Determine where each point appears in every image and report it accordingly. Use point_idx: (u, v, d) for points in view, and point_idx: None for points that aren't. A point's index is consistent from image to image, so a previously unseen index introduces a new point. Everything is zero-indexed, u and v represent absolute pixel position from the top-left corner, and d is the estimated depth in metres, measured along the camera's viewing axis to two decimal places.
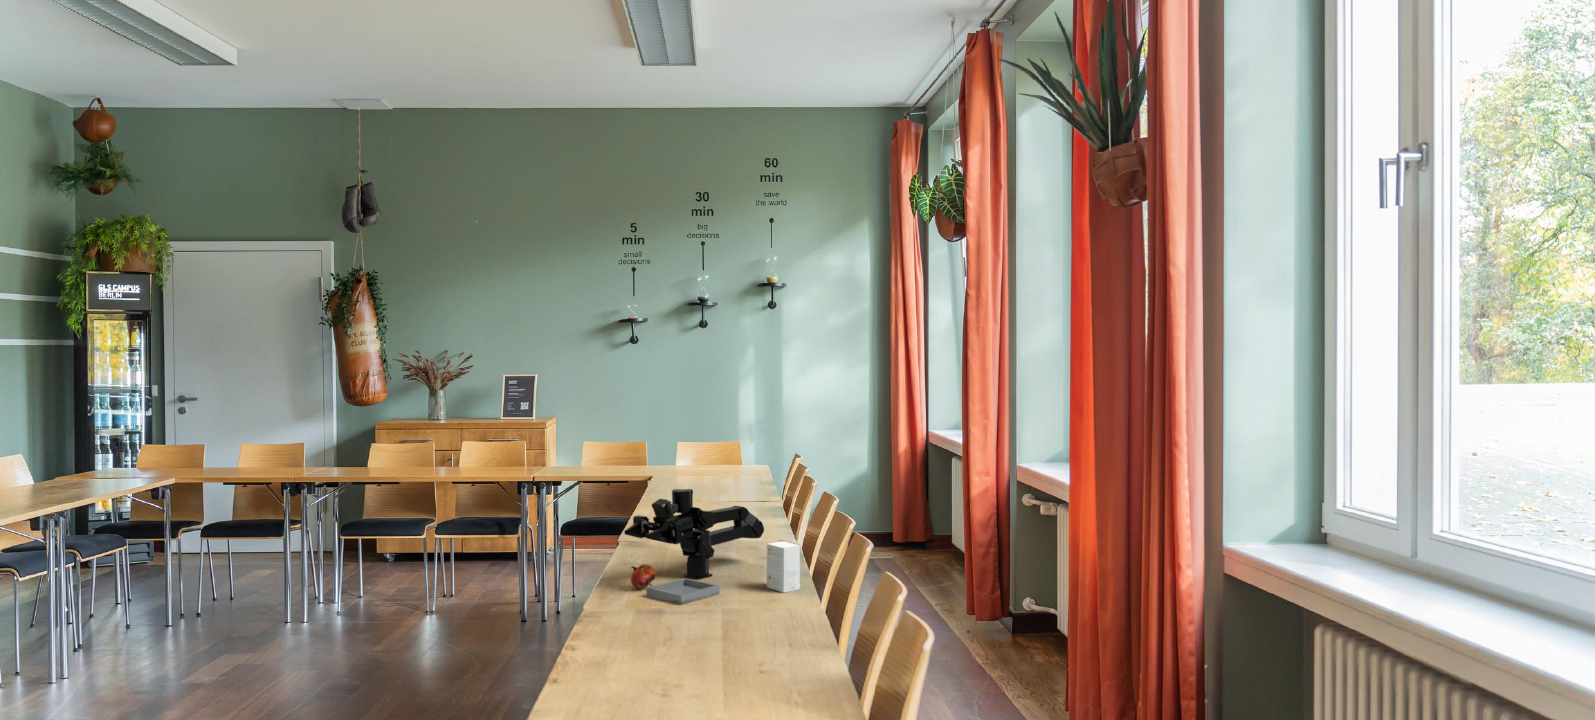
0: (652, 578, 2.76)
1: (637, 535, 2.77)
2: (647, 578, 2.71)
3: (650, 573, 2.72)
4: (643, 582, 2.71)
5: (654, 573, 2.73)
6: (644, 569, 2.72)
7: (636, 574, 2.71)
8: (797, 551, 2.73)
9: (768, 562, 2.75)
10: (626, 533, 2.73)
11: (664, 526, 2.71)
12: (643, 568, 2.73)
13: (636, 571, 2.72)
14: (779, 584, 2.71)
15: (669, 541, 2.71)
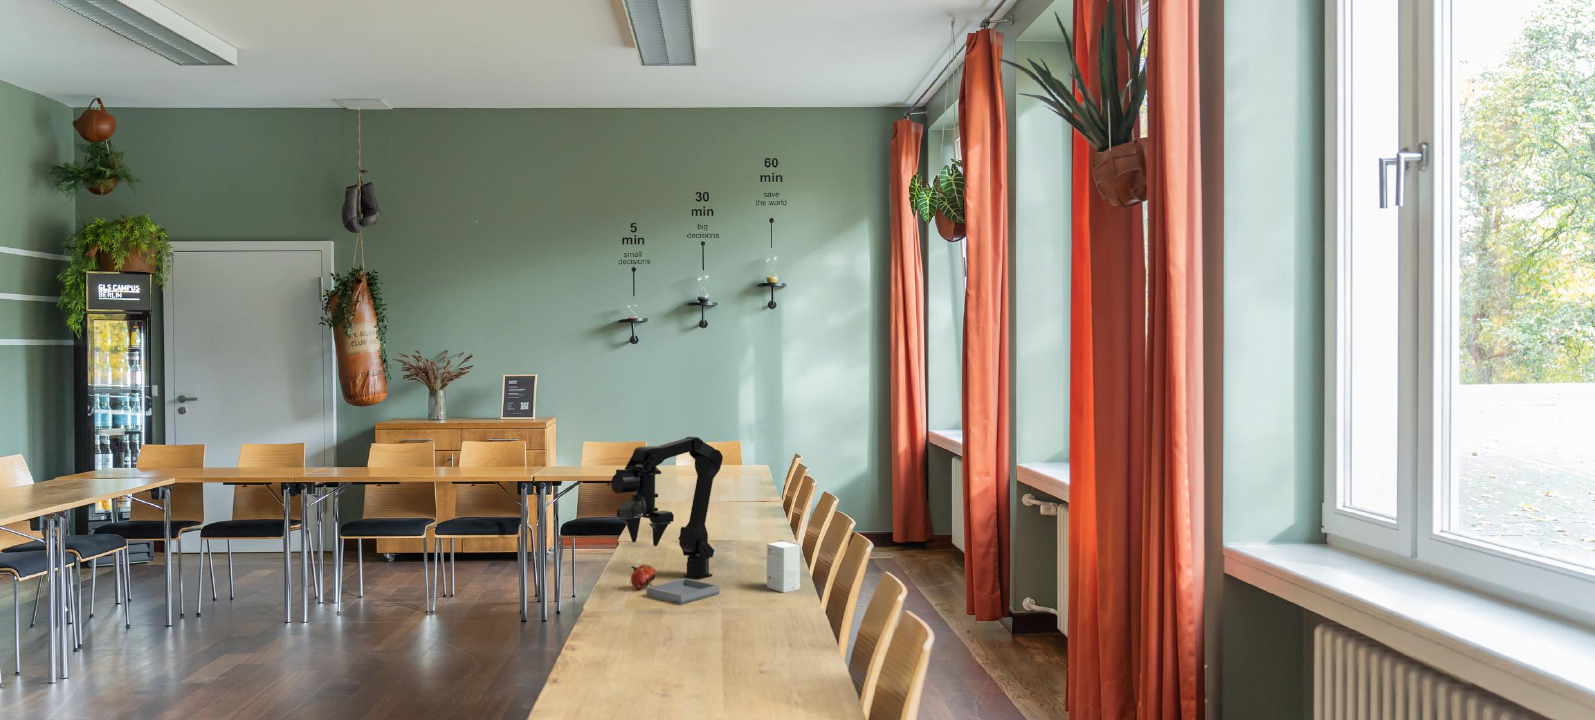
0: (652, 578, 2.76)
1: (638, 524, 2.79)
2: (647, 578, 2.71)
3: (650, 573, 2.72)
4: (643, 582, 2.71)
5: (654, 573, 2.73)
6: (644, 569, 2.72)
7: (636, 574, 2.71)
8: (797, 551, 2.73)
9: (768, 562, 2.75)
10: (635, 540, 2.77)
11: (653, 527, 2.69)
12: (643, 568, 2.73)
13: (636, 571, 2.72)
14: (779, 584, 2.71)
15: (667, 523, 2.72)
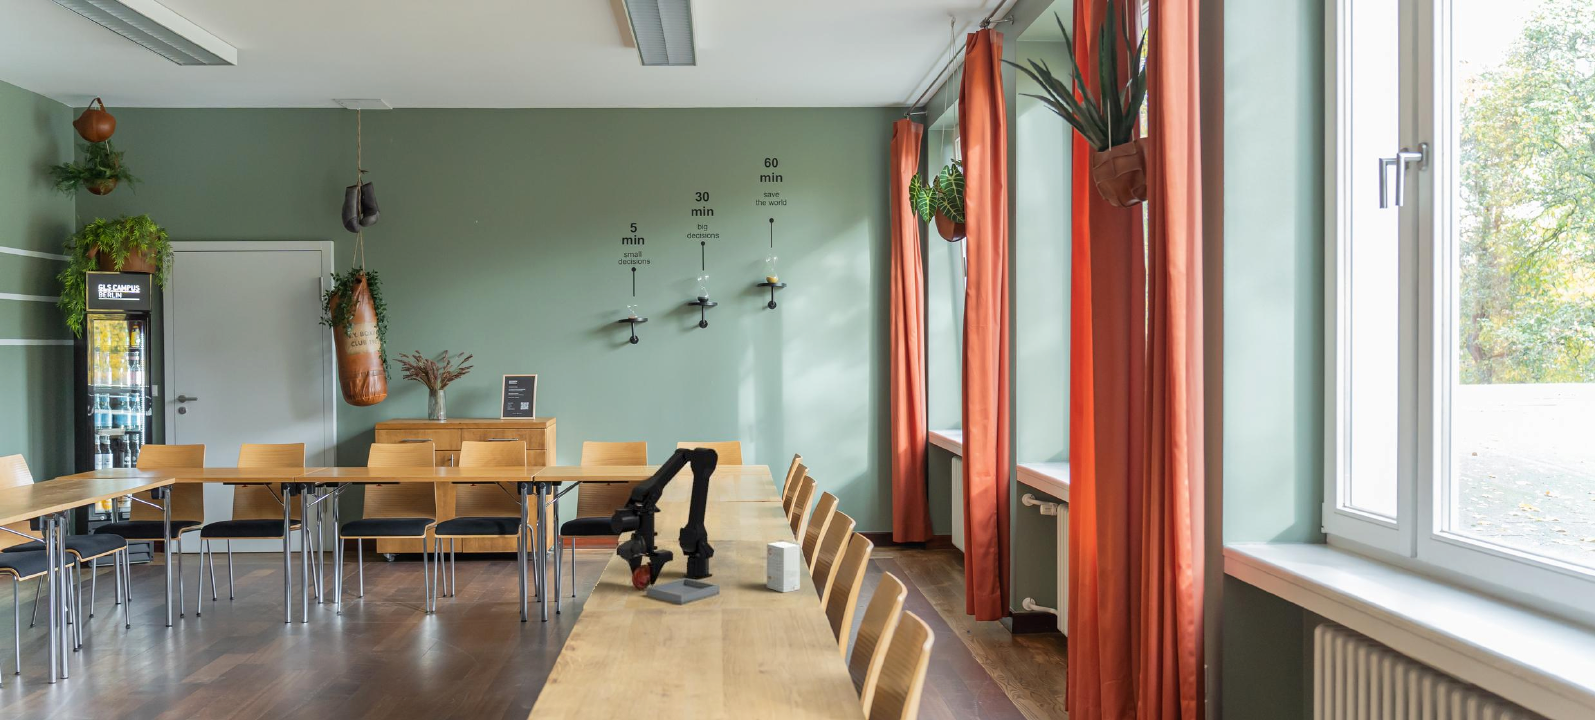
0: None
1: (640, 562, 2.78)
2: (648, 578, 2.71)
3: None
4: (644, 582, 2.71)
5: None
6: (645, 569, 2.72)
7: (637, 574, 2.71)
8: (797, 551, 2.73)
9: (768, 562, 2.75)
10: None
11: (650, 566, 2.70)
12: (644, 568, 2.72)
13: (637, 571, 2.72)
14: (779, 584, 2.71)
15: (664, 562, 2.72)
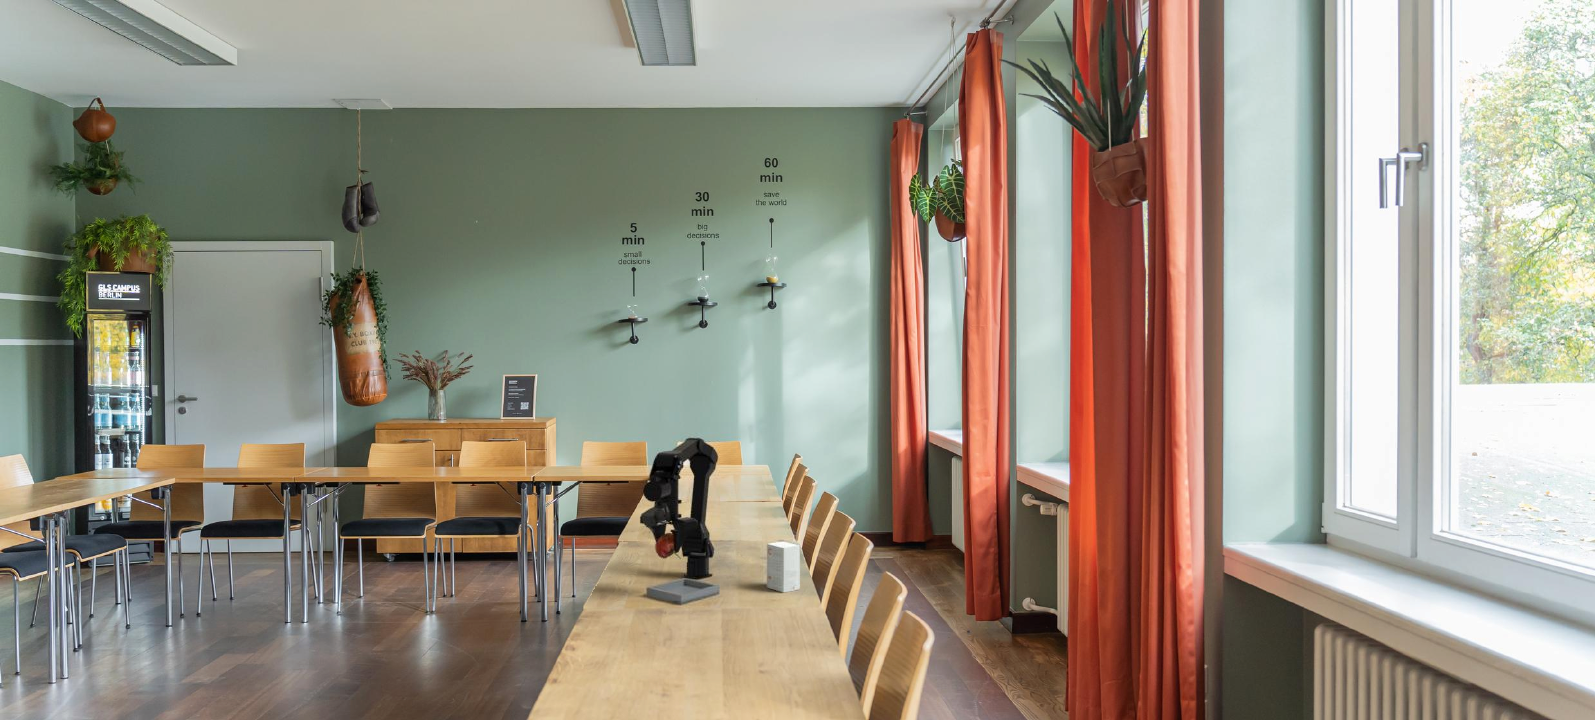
0: None
1: (664, 531, 2.74)
2: (672, 546, 2.67)
3: None
4: (667, 550, 2.66)
5: None
6: (668, 537, 2.67)
7: (660, 542, 2.67)
8: (797, 551, 2.73)
9: (768, 562, 2.75)
10: None
11: (674, 533, 2.65)
12: (668, 536, 2.68)
13: (660, 539, 2.67)
14: (779, 584, 2.71)
15: (689, 530, 2.67)
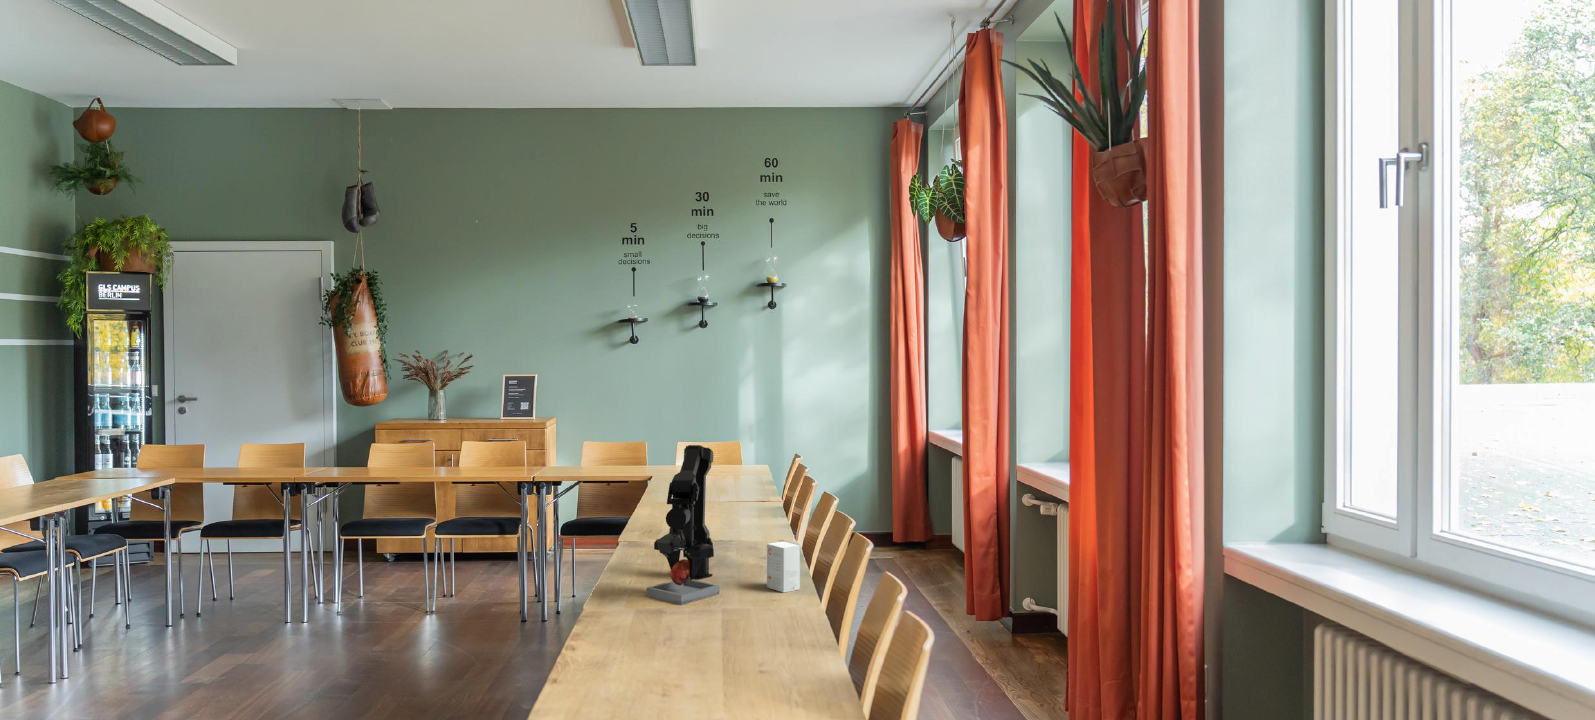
0: None
1: (678, 557, 2.71)
2: (687, 573, 2.64)
3: None
4: (683, 577, 2.64)
5: None
6: (684, 564, 2.65)
7: (676, 569, 2.64)
8: (797, 551, 2.73)
9: (768, 562, 2.75)
10: None
11: (690, 560, 2.63)
12: (683, 563, 2.65)
13: (676, 566, 2.65)
14: (779, 584, 2.71)
15: (704, 556, 2.65)
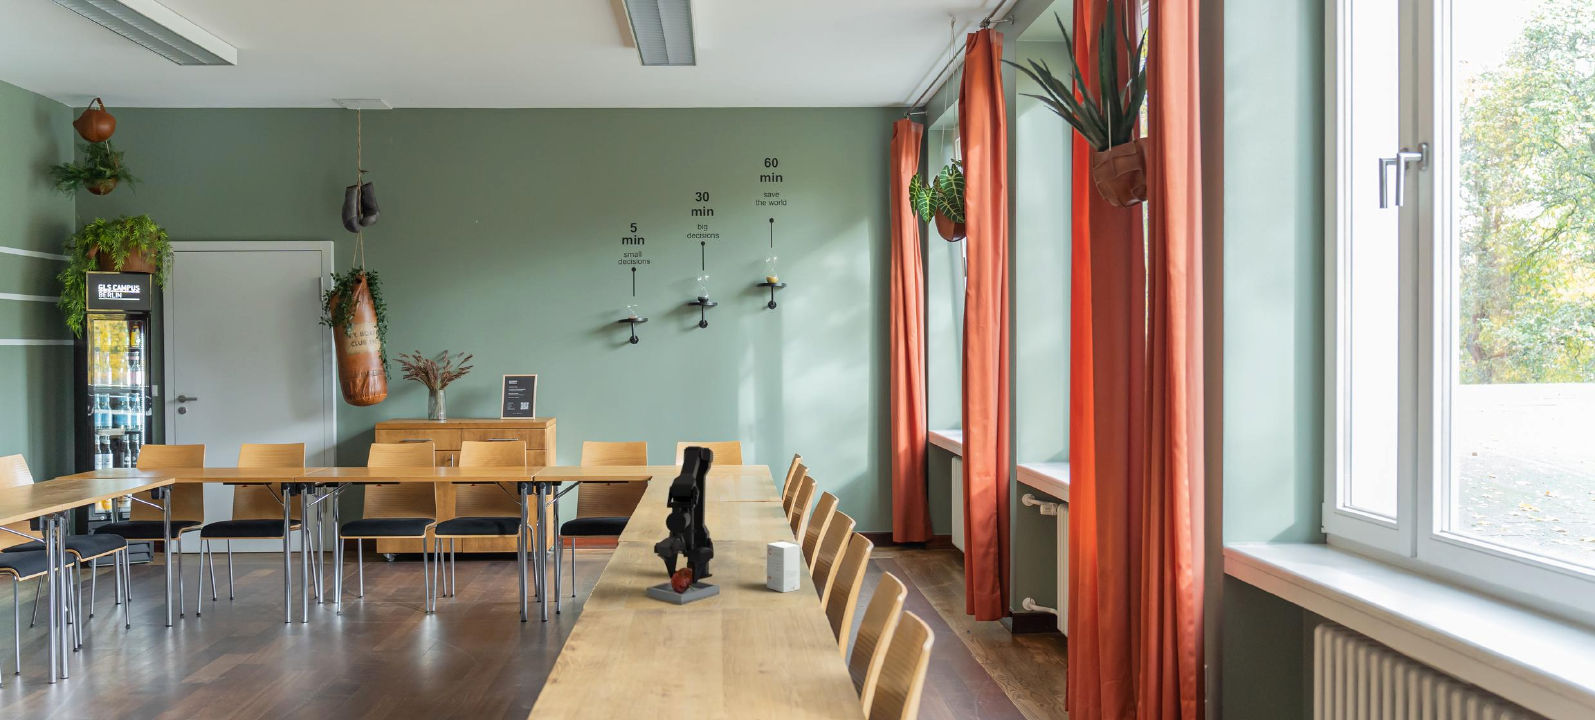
0: (692, 581, 2.68)
1: (675, 560, 2.72)
2: (688, 581, 2.64)
3: (691, 576, 2.65)
4: (684, 586, 2.63)
5: None
6: (684, 572, 2.65)
7: (676, 577, 2.64)
8: (797, 551, 2.73)
9: (768, 562, 2.75)
10: None
11: (693, 564, 2.62)
12: (684, 571, 2.65)
13: (676, 574, 2.65)
14: (779, 584, 2.71)
15: (707, 560, 2.64)
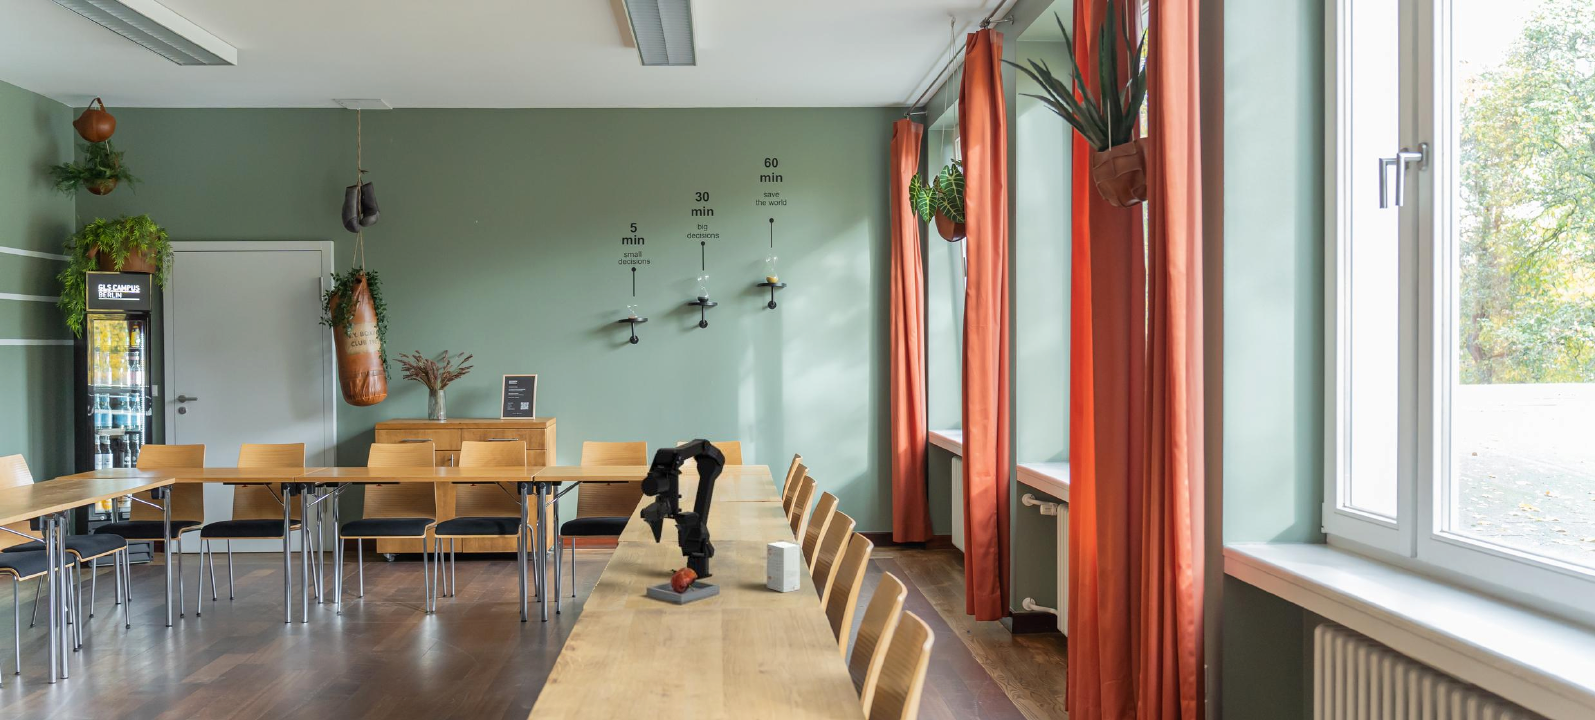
0: (692, 581, 2.68)
1: (661, 524, 2.79)
2: (688, 581, 2.64)
3: (691, 576, 2.65)
4: (684, 586, 2.63)
5: (695, 576, 2.66)
6: (684, 572, 2.65)
7: (676, 577, 2.64)
8: (797, 551, 2.73)
9: (768, 562, 2.75)
10: (659, 541, 2.78)
11: (678, 528, 2.69)
12: (684, 571, 2.65)
13: (676, 574, 2.65)
14: (779, 584, 2.71)
15: None
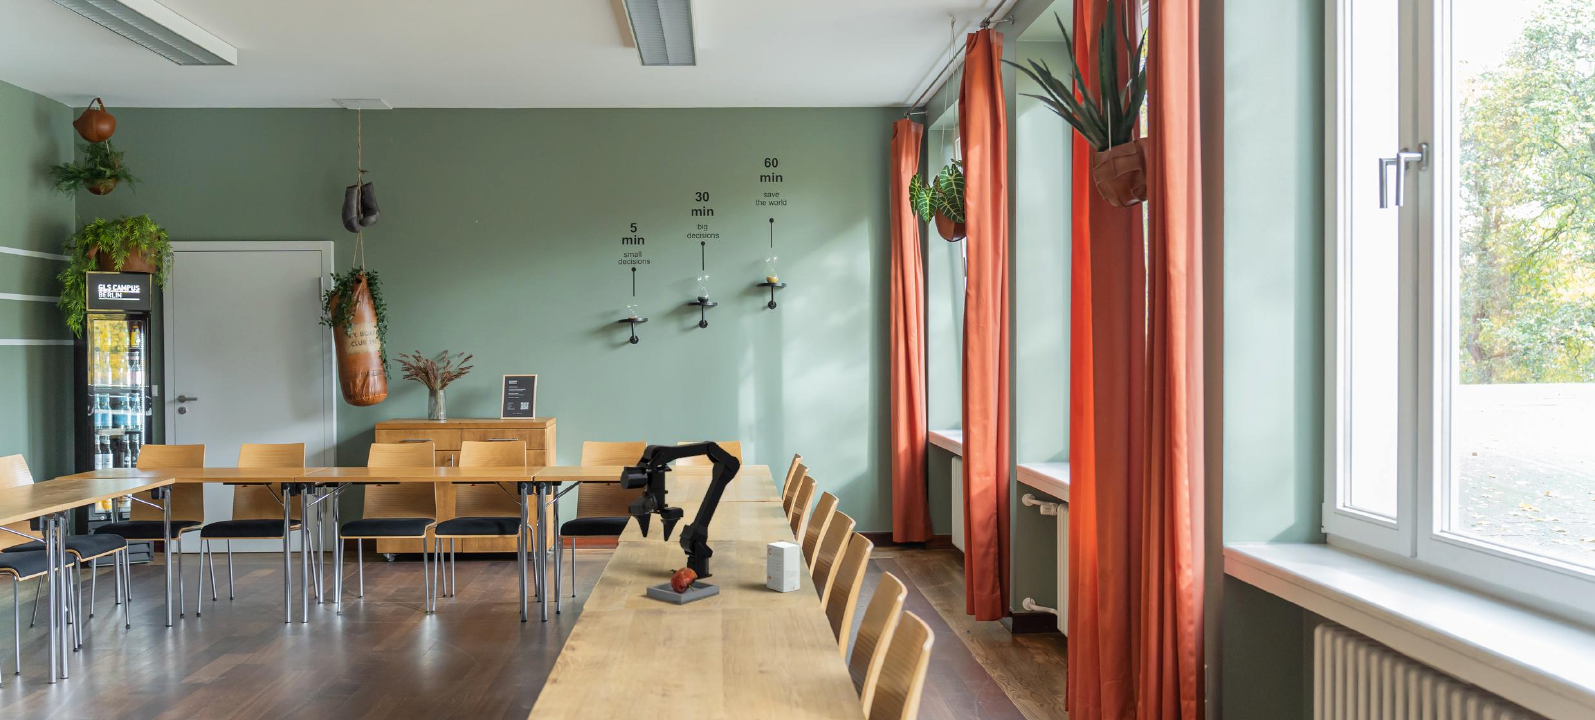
0: (692, 581, 2.68)
1: (649, 520, 2.86)
2: (688, 581, 2.64)
3: (691, 576, 2.65)
4: (684, 586, 2.63)
5: (695, 576, 2.66)
6: (684, 572, 2.65)
7: (676, 577, 2.64)
8: (797, 551, 2.73)
9: (768, 562, 2.75)
10: (646, 535, 2.85)
11: (664, 523, 2.76)
12: (684, 571, 2.65)
13: (676, 574, 2.65)
14: (779, 584, 2.71)
15: (678, 519, 2.79)
